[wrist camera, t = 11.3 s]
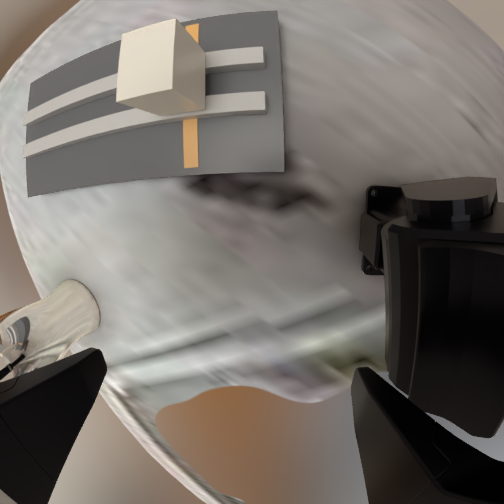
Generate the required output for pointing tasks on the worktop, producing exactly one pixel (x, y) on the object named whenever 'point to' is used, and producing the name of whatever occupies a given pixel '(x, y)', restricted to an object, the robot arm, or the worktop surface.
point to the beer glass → (45, 329)
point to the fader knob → (161, 70)
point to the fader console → (161, 127)
